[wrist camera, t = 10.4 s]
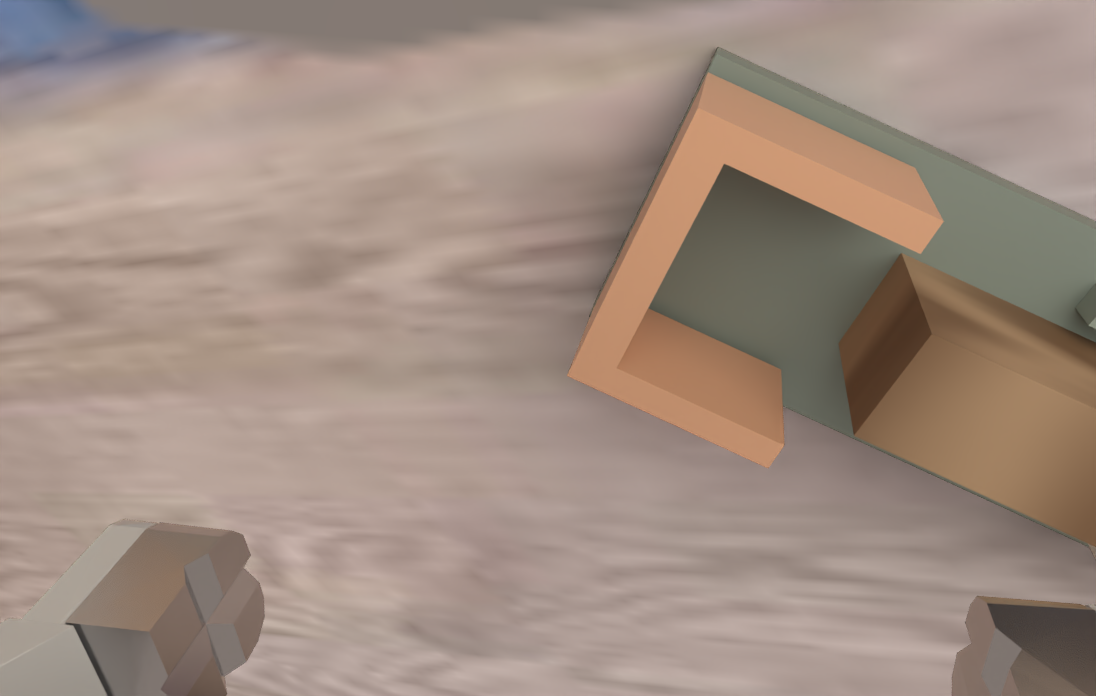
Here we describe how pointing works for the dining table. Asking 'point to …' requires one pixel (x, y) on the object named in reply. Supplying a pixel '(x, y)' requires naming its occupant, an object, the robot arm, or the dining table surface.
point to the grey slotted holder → (859, 256)
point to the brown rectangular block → (977, 394)
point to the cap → (666, 217)
